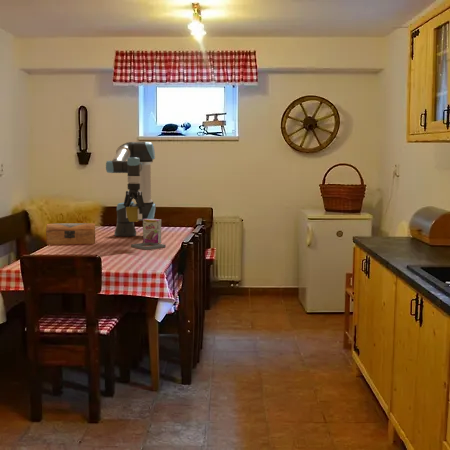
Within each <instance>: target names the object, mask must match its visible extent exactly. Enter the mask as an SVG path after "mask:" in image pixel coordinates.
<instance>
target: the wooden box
mask: <svg viewBox="0 0 450 450" xmlns="http://www.w3.org/2000/svg"><path fill="white" fill-rule="evenodd" d="M45 233H46V245H83V244H84V245H93V244H96V223H93V222H92V223H73V222H72V223H69V222H68V223H67V222H66V223H47V224H46V228H45Z"/></svg>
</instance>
